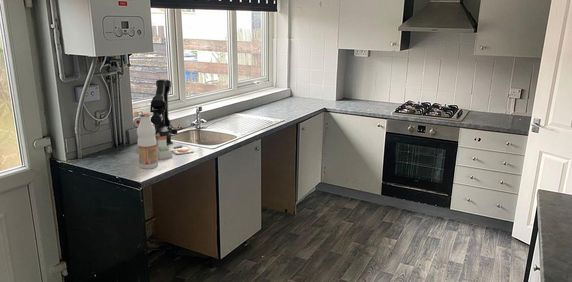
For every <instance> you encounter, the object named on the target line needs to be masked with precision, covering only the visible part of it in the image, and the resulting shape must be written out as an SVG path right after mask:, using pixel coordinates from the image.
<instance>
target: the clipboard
mask: <svg viewBox="0 0 572 282" xmlns="http://www.w3.org/2000/svg"><path fill="white" fill-rule="evenodd" d="M169 149H170V150H172V154H173V153H174V154H175V155H177V156H179V155H185V154H191V153H195V151H194V150H192V149H191V148H188V147H187V146H183V145H178V146H177V145H176V146H173V148H169Z"/></svg>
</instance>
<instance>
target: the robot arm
mask: <svg viewBox="0 0 572 282" xmlns="http://www.w3.org/2000/svg"><path fill="white" fill-rule="evenodd" d="M155 87H156V91H155V95H154V96H153V97H152V100H151V101H150V111H149V113H153V114H152V116H150V120H151V122H152V124H153V126H154V127H155V131H156V132H155V135H160V136H166V138H167V139H166V141H167V145H169V144H170V145H171V144H174V142H173V141H172V136H173V135H177V134H178V128H177V129H176V128H175V127H174V126H173V124H172V121H171V120H170V118H169V93H170V92H171V88H172V81H171V80H170V79H157V80H156V81H155Z"/></svg>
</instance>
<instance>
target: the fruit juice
mask: <svg viewBox="0 0 572 282" xmlns="http://www.w3.org/2000/svg"><path fill="white" fill-rule="evenodd" d="M139 117H140V121H139V124H138V127H137V128H136V135H137V137H138V138H137V151H138V152H137V155H138V165H139V168H140V169H146V170H149V169H151V170H152V169H154V168H157V167H158V166H159V160H158V159H159V158H158V156H157V141H156V137H155V132H156V131H155V125H154V124H153V123H152V122H151V114H150V112H149V113H148V112H143V113H140V114H139Z"/></svg>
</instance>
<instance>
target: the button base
mask: <svg viewBox="0 0 572 282" xmlns="http://www.w3.org/2000/svg"><path fill="white" fill-rule="evenodd" d="M170 149H171V148H169V151H163V152H160V151H159V149H157V156H158V159H159V160H164V159H165V160H166V159H171V158H173V152H172V150H170Z"/></svg>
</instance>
